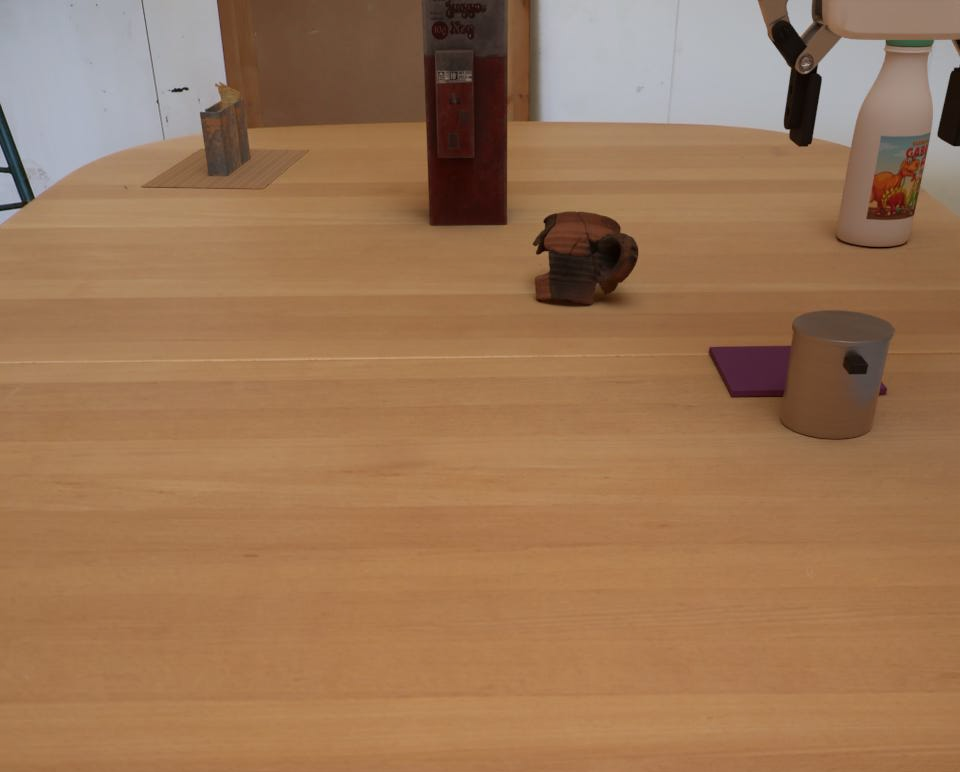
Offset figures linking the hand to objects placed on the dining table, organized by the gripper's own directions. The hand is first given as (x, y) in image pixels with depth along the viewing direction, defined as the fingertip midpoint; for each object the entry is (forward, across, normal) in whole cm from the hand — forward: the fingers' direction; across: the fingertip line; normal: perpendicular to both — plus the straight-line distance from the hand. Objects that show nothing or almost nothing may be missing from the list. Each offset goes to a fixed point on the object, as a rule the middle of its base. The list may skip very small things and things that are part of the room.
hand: (874, 142), depth 72 cm
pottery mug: (+19, -15, +32) cm, 40 cm away
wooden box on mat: (+19, -59, +92) cm, 111 cm away
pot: (+19, 0, 0) cm, 19 cm away
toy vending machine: (+19, -26, +62) cm, 70 cm away
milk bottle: (+18, +18, +50) cm, 56 cm away
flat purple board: (+18, 0, +10) cm, 21 cm away
